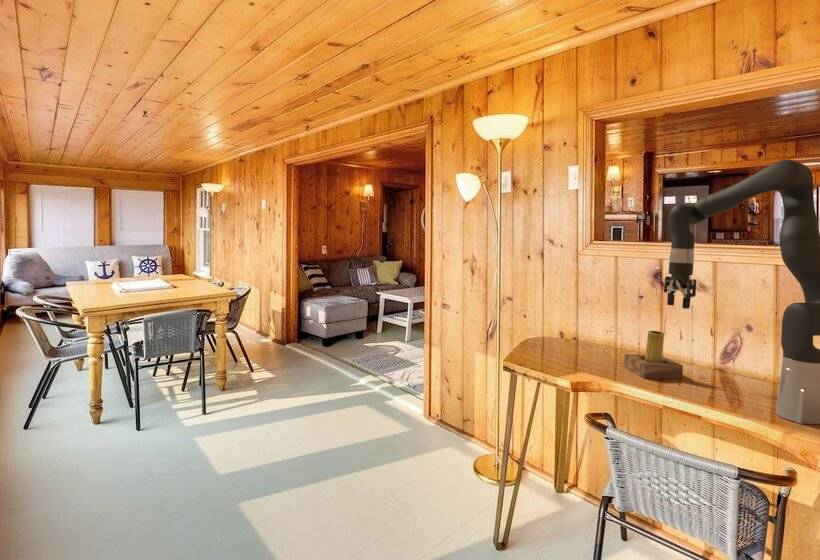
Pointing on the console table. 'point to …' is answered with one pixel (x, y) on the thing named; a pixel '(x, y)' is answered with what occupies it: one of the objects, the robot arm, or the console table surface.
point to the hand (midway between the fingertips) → (677, 306)
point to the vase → (654, 347)
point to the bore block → (653, 367)
